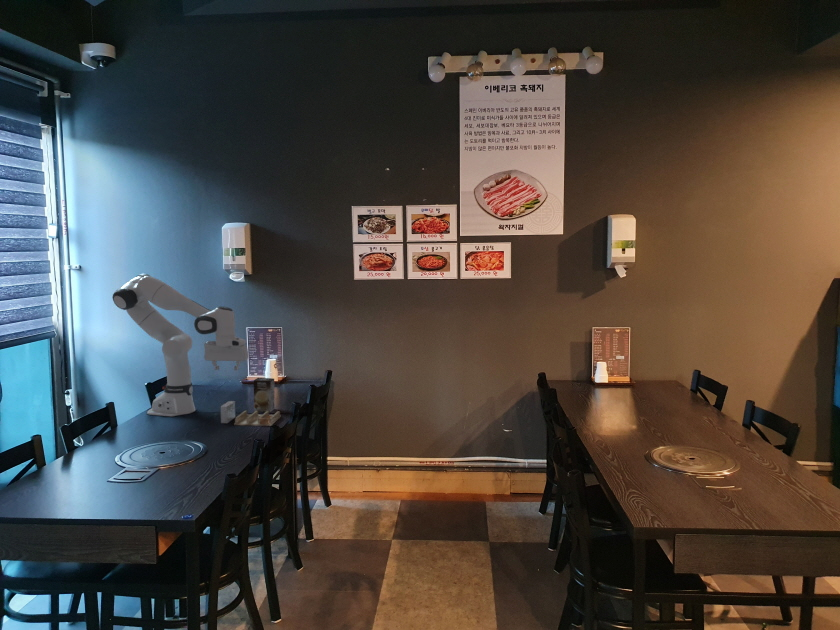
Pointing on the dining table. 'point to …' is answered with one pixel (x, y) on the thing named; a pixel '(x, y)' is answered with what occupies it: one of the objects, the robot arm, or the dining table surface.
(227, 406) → the panel
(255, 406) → the coffee box
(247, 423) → the rack
